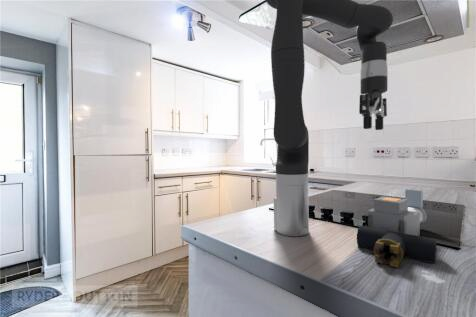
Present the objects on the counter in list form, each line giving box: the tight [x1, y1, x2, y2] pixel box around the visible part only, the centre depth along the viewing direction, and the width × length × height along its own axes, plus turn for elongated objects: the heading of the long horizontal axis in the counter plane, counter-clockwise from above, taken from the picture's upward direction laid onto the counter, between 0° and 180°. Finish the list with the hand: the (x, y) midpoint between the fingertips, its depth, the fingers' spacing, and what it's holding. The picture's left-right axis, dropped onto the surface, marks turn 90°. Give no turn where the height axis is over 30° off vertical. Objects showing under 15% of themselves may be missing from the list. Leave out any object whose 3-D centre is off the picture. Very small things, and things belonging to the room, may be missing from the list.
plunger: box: [380, 196, 402, 202], centre depth 64 cm, size 4×4×3 cm
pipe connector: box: [356, 225, 437, 268], centre depth 56 cm, size 12×5×15 cm
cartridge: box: [404, 188, 427, 225], centre depth 72 cm, size 6×12×11 cm, turn 129°
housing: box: [367, 195, 421, 236], centre depth 66 cm, size 8×12×11 cm
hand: (373, 129), depth 80 cm, fingers open, 8 cm apart
